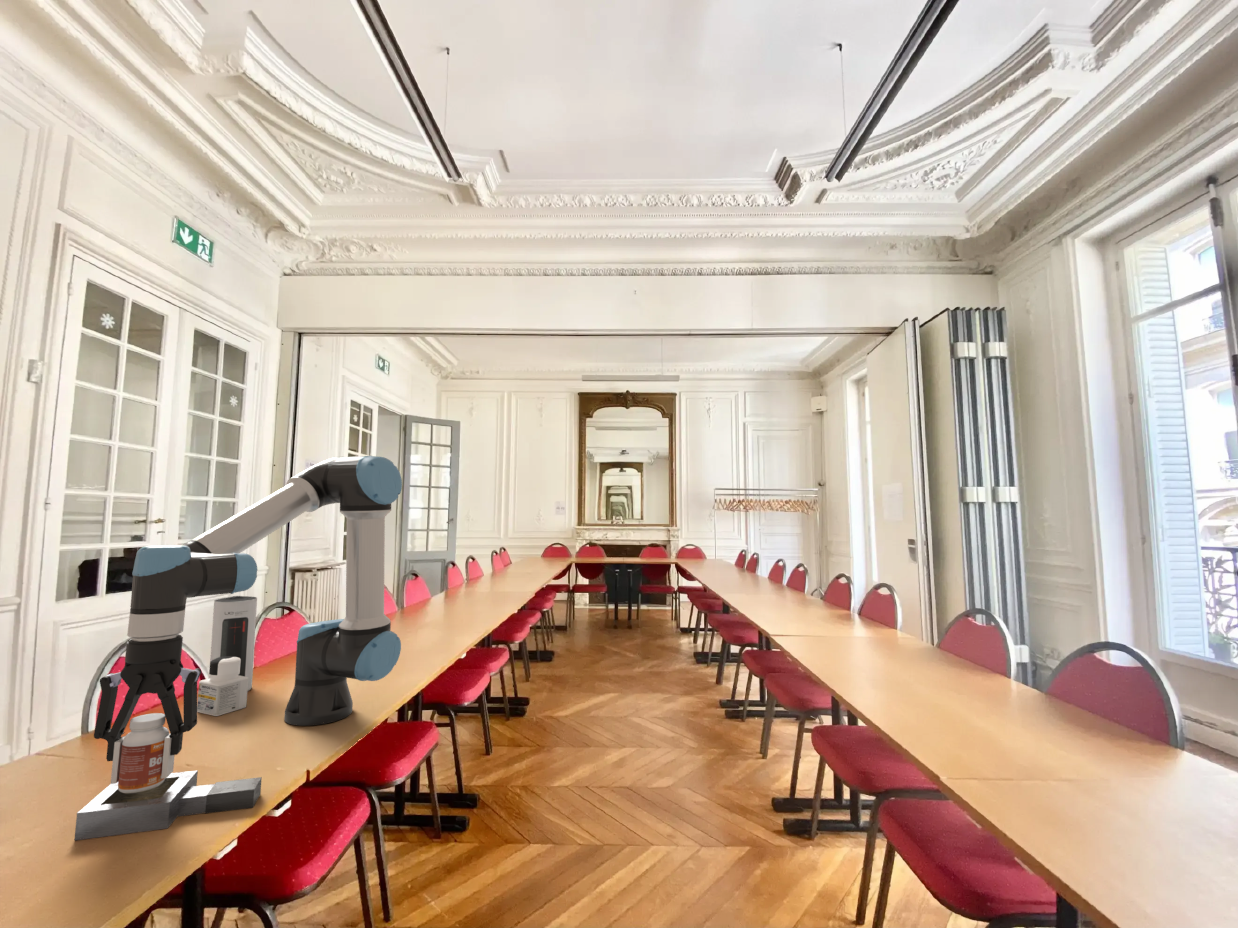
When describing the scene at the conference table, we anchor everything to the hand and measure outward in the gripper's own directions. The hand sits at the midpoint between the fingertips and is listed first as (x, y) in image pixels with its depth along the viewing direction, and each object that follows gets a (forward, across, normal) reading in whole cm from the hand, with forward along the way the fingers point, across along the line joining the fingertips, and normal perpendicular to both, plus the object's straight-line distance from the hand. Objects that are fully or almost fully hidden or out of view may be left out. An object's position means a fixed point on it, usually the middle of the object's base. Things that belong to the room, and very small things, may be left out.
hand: (142, 777), depth 96 cm
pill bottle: (+2, 0, 0) cm, 2 cm away
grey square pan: (+6, -6, 0) cm, 8 cm away
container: (+6, +4, -55) cm, 56 cm away
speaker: (+6, +7, -72) cm, 73 cm away
